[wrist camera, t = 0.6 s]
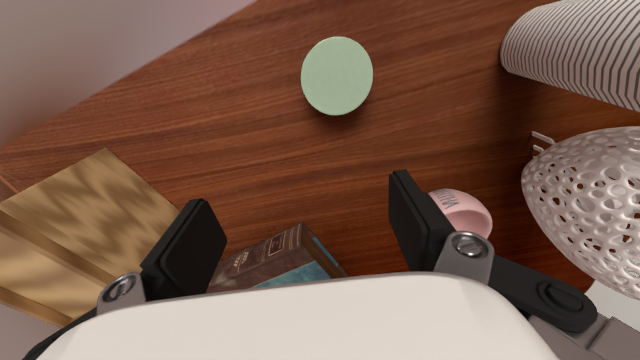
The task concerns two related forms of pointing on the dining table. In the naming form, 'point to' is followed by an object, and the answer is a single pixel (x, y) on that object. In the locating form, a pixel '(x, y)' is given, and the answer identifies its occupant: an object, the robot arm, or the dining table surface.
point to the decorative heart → (591, 202)
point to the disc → (336, 75)
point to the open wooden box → (77, 237)
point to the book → (277, 263)
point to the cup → (580, 48)
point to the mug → (463, 211)
